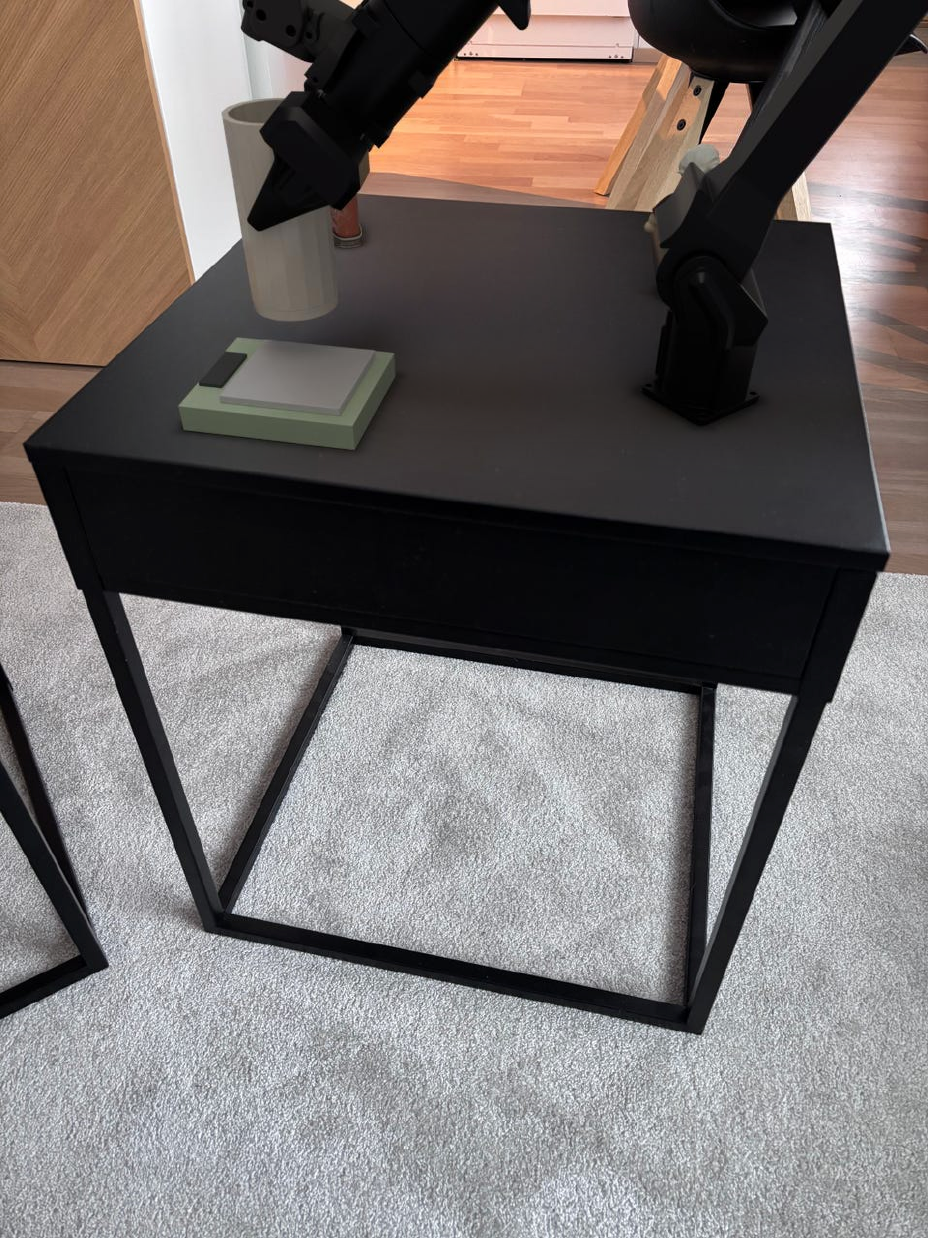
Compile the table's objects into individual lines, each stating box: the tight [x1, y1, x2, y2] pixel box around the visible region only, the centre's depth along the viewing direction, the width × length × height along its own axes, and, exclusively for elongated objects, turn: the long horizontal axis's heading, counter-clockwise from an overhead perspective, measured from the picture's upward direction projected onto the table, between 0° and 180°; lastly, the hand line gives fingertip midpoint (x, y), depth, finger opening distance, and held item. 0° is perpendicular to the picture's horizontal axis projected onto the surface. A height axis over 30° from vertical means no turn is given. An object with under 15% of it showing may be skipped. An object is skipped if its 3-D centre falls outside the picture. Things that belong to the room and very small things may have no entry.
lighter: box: [330, 193, 363, 249], centre depth 93 cm, size 8×3×10 cm, turn 17°
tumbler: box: [220, 97, 340, 323], centre depth 66 cm, size 6×6×13 cm
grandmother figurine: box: [643, 143, 721, 234], centre depth 81 cm, size 8×4×13 cm, turn 84°
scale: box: [177, 337, 396, 451], centre depth 71 cm, size 13×11×3 cm
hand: (265, 208), depth 66 cm, fingers closed on tumbler, 6 cm apart
